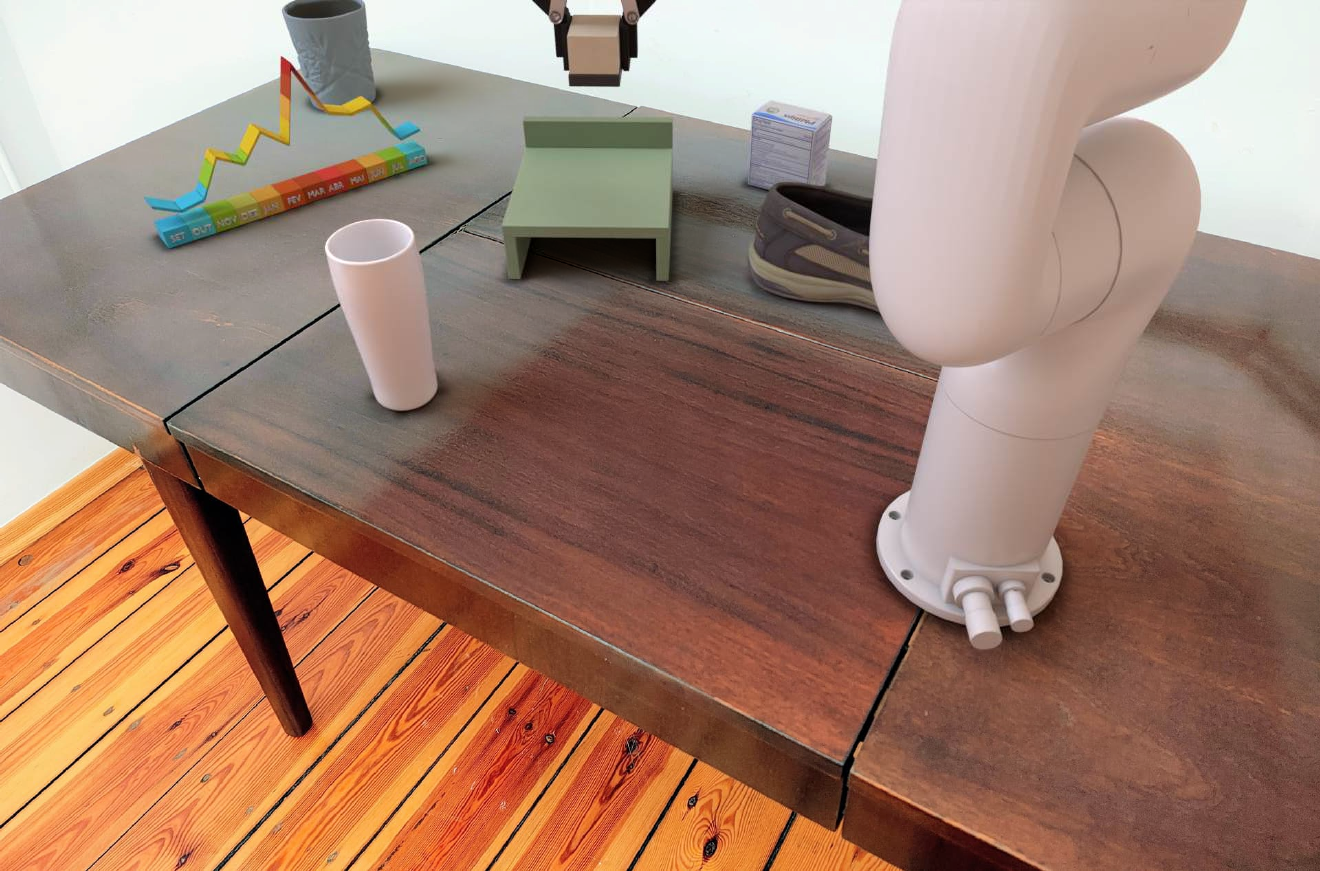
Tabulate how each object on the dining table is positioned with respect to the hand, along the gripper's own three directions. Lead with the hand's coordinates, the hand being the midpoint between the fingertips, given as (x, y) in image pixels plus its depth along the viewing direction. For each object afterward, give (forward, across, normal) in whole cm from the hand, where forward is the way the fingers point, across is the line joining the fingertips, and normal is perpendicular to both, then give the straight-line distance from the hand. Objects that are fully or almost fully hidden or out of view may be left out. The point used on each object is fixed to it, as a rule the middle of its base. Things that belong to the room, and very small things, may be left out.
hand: (597, 63), depth 83 cm
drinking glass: (+20, -16, -23) cm, 34 cm away
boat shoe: (+20, +28, -7) cm, 35 cm away
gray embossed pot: (+20, -38, +39) cm, 59 cm away
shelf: (+20, -2, +4) cm, 20 cm away
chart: (+20, -36, +11) cm, 42 cm away
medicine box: (+20, +20, +15) cm, 32 cm away
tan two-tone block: (+1, 0, 0) cm, 1 cm away
